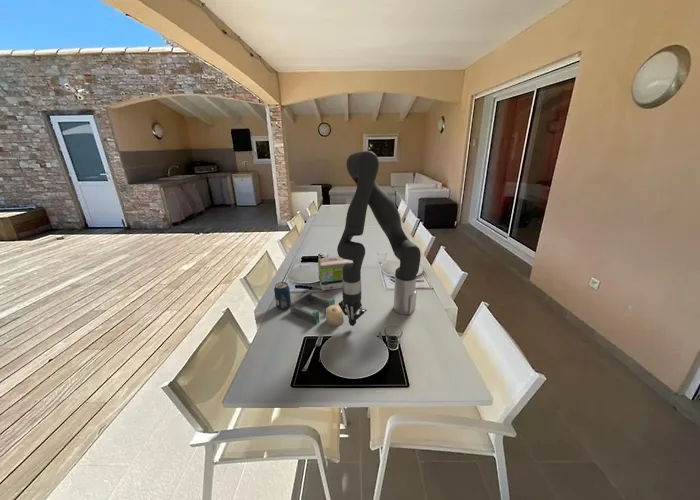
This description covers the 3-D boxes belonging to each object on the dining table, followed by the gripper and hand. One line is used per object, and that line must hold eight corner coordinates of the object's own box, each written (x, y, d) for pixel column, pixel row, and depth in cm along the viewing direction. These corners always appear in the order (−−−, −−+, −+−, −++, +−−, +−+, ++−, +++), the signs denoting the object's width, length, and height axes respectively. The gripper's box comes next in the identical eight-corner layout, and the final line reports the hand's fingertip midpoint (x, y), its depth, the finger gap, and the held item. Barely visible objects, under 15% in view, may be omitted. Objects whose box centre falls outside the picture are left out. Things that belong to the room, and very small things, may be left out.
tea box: (322, 291, 149) (320, 266, 143) (319, 282, 158) (317, 258, 152) (350, 287, 153) (349, 262, 147) (345, 278, 162) (344, 254, 156)
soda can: (285, 301, 141) (282, 280, 136) (294, 306, 137) (292, 284, 132) (273, 307, 136) (270, 285, 131) (282, 313, 132) (280, 290, 127)
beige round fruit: (346, 319, 127) (346, 307, 124) (337, 328, 121) (336, 316, 119) (333, 314, 131) (332, 302, 128) (323, 322, 125) (322, 311, 123)
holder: (335, 309, 134) (334, 298, 131) (316, 324, 124) (315, 313, 121) (310, 299, 142) (309, 289, 140) (290, 313, 132) (289, 302, 130)
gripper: (371, 289, 113) (370, 325, 119) (343, 280, 120) (344, 315, 126) (360, 298, 107) (360, 335, 114) (332, 288, 114) (334, 323, 121)
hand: (352, 324), depth 120 cm, fingers closed
